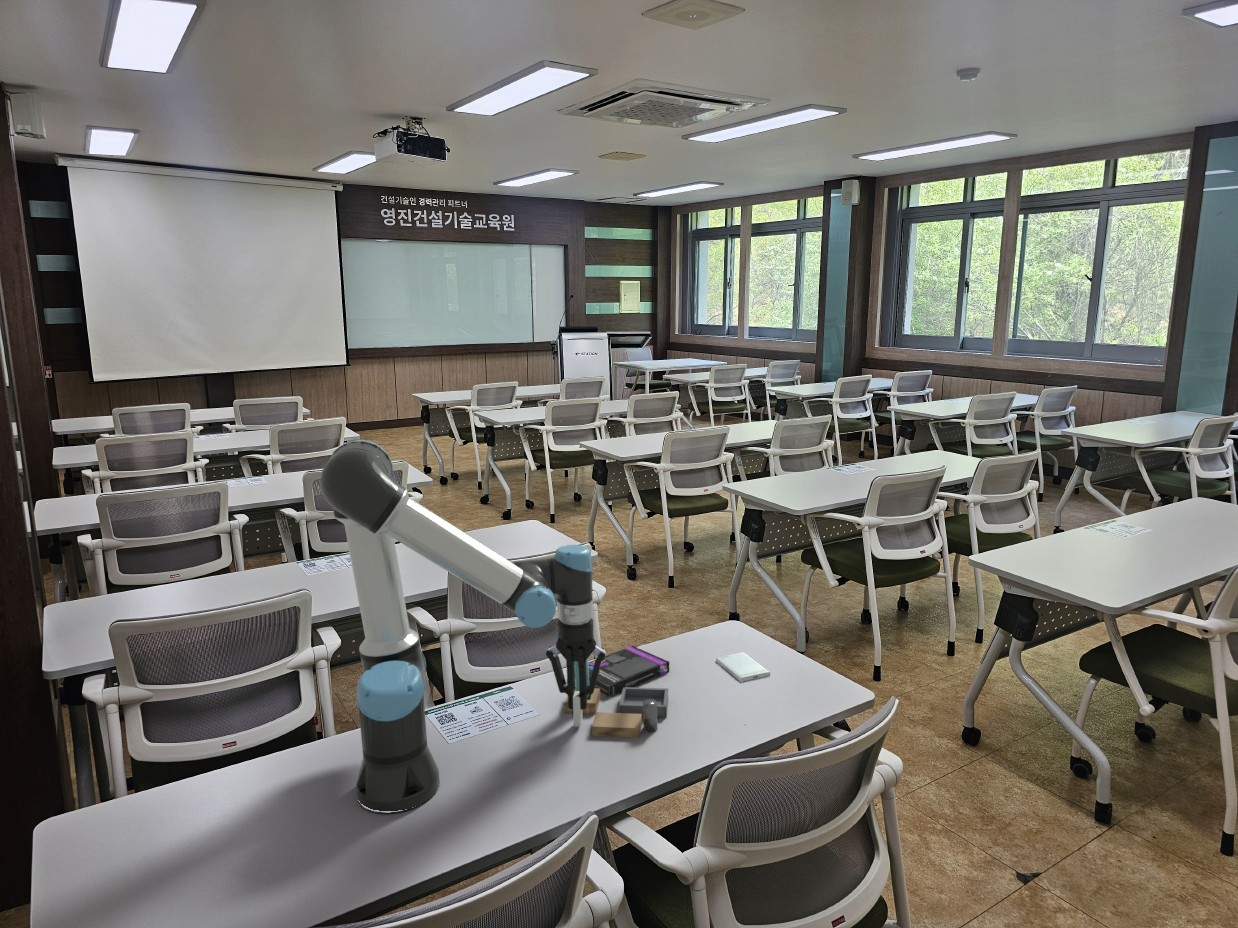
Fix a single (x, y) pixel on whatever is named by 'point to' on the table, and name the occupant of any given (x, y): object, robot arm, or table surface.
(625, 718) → the tan block
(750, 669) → the hard drive
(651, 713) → the bench dog
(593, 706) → the socket block
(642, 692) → the tray
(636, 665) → the box
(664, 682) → the table surface
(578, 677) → the dowel
